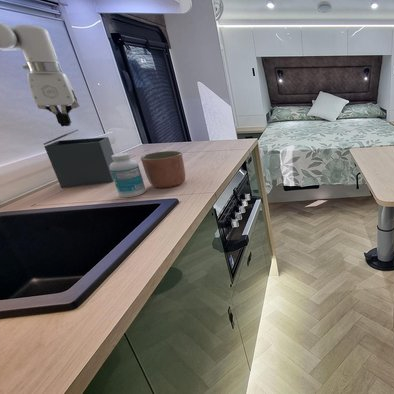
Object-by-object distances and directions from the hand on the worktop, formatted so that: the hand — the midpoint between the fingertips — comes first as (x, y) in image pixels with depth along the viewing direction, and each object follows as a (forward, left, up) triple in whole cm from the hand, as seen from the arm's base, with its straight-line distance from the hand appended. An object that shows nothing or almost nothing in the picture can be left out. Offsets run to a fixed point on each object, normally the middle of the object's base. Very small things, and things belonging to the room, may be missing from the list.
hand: (66, 125), depth 102 cm
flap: (-2, 0, -4) cm, 4 cm away
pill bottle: (+19, -24, -21) cm, 37 cm away
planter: (+29, -18, -21) cm, 40 cm away
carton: (+2, 0, -21) cm, 21 cm away
